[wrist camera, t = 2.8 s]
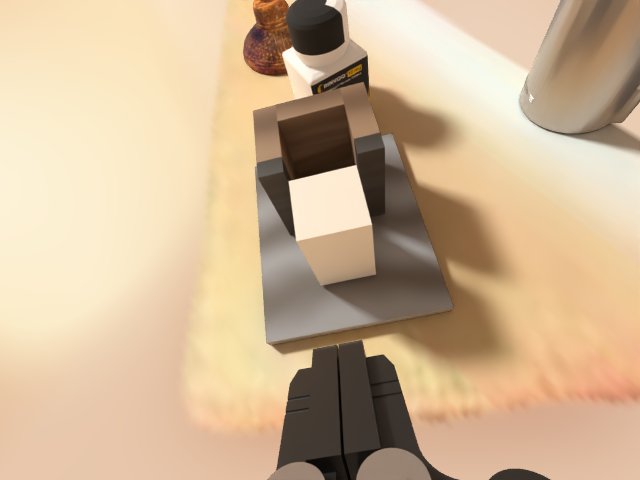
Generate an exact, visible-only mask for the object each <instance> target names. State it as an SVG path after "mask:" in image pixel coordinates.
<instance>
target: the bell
mask: <svg viewBox="0 0 640 480" xmlns="http://www.w3.org/2000/svg"><path fill="white" fill-rule="evenodd" d="M288 9H289V6H288V4H287V2H286V1H285V0H254V2H253V10H254V14H255V17H256V22H257V23H256V24H255V25H254V26H253V28H252V29H251V30H250V32H249V33H248V35H247V36H246V39H245V42H244V49H243V54H244V59H245V62H246V63H247V64H248V65H249V66H250V67H251V68H252V69H253V70H255V71H257V72H260V73H263V74H270V75H279V74H285V73H287V69H286V66H285V63H284V59H283V56H282V54H283V52H284V51H286V50H288V49H290V48H292V47H293V45H292V42H291V38H290V34H289V30H288V26H287V22H286V14H287V12H288ZM279 37H280V38H279ZM272 61H273V62H272Z"/></svg>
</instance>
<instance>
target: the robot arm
mask: <svg viewBox="0 0 640 480" xmlns="http://www.w3.org/2000/svg"><path fill="white" fill-rule="evenodd" d="M639 102H640V0H561V1H560V3H559V5H558V8H557V10H556V12H555V15H554V17H553V20H552V22H551V24H550V26H549V29H548V31H547V33H546V36H545V38H544V40H543V42H542V45H541V47H540V49H539V52H538V54H537V56H536V59H535V61H534V63H533V66H532V68H531V70H530V72H529V74H528V76H527V78H526V81H525V84H524V87H523V89H522V91H521V94H520V98H519V103H520V107H521V109H522V111H523V113H524V114H525V115H526V116H527V117H528V118H529V119H530V120H531V121H532V122H534V123H535V124H537V125H539V126H541V127H543V128H546V129H549V130H552V131H556V132H562V133H585V132H591V131H594V130H597V129H600V128H602V127H604V126H606V125H608V124H610V123H622V122H623V121H624V120H625V119H626V118H627V117H628V115H629V114H630V113H631V112H632V110H633V109H634V108H635V107H636V106H637V105H638V103H639ZM268 480H458V479H454V478H451V477H449V476H446V475H444V474H443V473H441V472H439V471H438V470H436V469H435V468H434V467H432V465H431V464H429V463H428V461H427V460H426V459H425V458H424V456H423V455H422V453H421V451H420V449H419V446H418V444H417V440H416V437H415V433H414V430H413V427H412V423H411V420H410V417H409V413H408V410H407V407H406V403H405V400H404V397H403V394H402V390H401V387H400V383H399V380H398V377H397V373H396V370H395V367H394V365H393V364H392V363H391V362H390V361H389V360H388V359H387V358H386V357H385V356H384V355H377V356H372V357H366V355H365V350H364V346H363V342H362V340H360V341H355V342H349V343H344V344H339V349H338V346H337V345H334V346H328V347H323V348H317V349H313V357H312V367H311V368H306V369H300V370H298V372H297V373H296V375H295V377H294V378H293V380H292V381H291V383H290V387H289V393H288V402H287V406H286V415H285V419H284V425H283V432H282V439H281V445H280V451H279V458H278V464H277V469H276V471H275V472H274V473H273V474H272V475H271V476H270V477H269V478H268ZM489 480H550V479H548V478H546V477H544V476H543V475H540V474H538V473H535V472H532V471H529V470H524V469H507V470H503V471H500V472H498V473H496V474H495V475H494V476H492V477H491V478H490V479H489Z"/></svg>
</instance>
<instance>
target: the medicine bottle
mask: <svg viewBox="0 0 640 480" xmlns="http://www.w3.org/2000/svg"><path fill="white" fill-rule="evenodd" d="M286 22H287V26H288V30H289V34H290V38H291V42H292V45H293V47H292V48H290V49H288V50H286V51H284V52H283V54H282V56H283V59H284V63H285V66H286V69H287V73H288V76H289V79H290V83H291V86H292V89H293V93H294V96H295V100H296V99H300V98H304V97H308V96H312V95H315V94H319V93H323V92H327V91H331V90H334V89H338V88H342V87H346V86H350V85H354V84H357V83H361V82H364V85H365V88H366V91H367V94H368V97H369V100H370V94H369V75H368V56H367V52H366V51H365V50H364V49H362V48H361V47H360V46H359V45H357V44H356V43H355V42H354V41H353V40H351V39H350V38H349V28H348V18H347V8H346V2H345V0H296V1H295V2H294V3H293V4H292V5H291V6H290V7H289V9H288V12H287V14H286Z"/></svg>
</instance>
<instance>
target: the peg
mask: <svg viewBox="0 0 640 480" xmlns="http://www.w3.org/2000/svg"><path fill="white" fill-rule="evenodd" d="M289 188H290V196H291V204H292V212H293V219H294V227H295V235H296V242H297V243H298V245H299V247H300V249H301V251H302V252H303V254H304V256H305V258H306V260H307V262H308V263H309V265H310V267H311V269H312V271H313V272H314V274H315V276H316V278H317V280H318V281H319V283H320V285H321V286H322V285H327V284H332V283H337V282H341V281H346V280H351V279H356V278H361V277H366V276H371V275H376V269H375V256H374V244H373V231H372V223H371V219H370V215H369V211H368V207H367V204H366V200H365V196H364V192H363V188H362V185H361V181H360V177H359V173H358V169H357V166H356V165H355V166H351V167H346V168H342V169H338V170H334V171H330V172H325V173H321V174H317V175H313V176H309V177H305V178H300V179H296V180H292V181H289Z"/></svg>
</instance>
